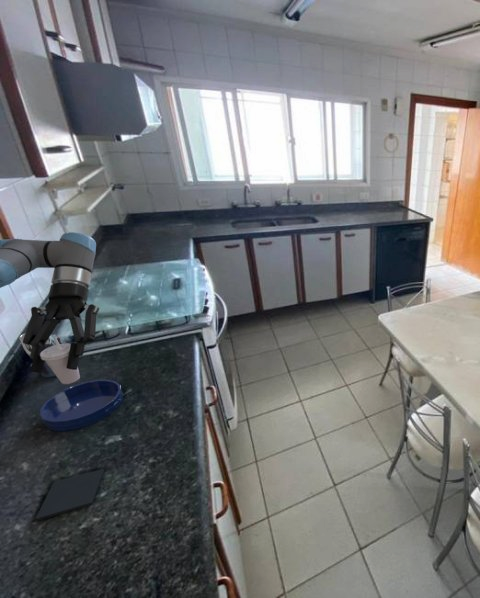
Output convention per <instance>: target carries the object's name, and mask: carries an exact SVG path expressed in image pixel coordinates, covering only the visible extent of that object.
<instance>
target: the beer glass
mask: <svg viewBox="0 0 480 598" xmlns="http://www.w3.org/2000/svg"><path fill="white" fill-rule="evenodd" d="M25 333H26V332H24V333H22V334H20V335H19V337H18V339H19V342H20V343H21V346H22V347H23V350H24V351H25V353H26V354H27V355H28V357H30V355H31V349H32V346H31V345H27V344H24V343H23V339H24V336H25ZM52 335H53V333H52V334H51V335H50V337H49V339H48V340H47V342H46V343H45V345H44V346H46V347H47V348H49V347H51V346H54V345H56V343H55V341H54V339H53V336H52ZM31 361H33V359H31ZM40 374H41V377H42V378H44V379H52V378H55V377H57V376H56V375H55V374H54V372H53V371H52V370H51V368H50V367H49V366H48V364H47V363H46V362H44V367H43V372H42V373H40Z"/></svg>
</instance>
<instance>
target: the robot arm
mask: <svg viewBox="0 0 480 598" xmlns="http://www.w3.org/2000/svg"><path fill="white" fill-rule="evenodd" d="M96 251H97V242H96V240H95V239H94V238H93V237H92V236H90V235H87V234H84V233H80V232H74V231H73V232H70V231H69V232H65V233H63V234H62V235H61V236H60V238H59V240H42V239H41V240H39V239H22V238H8V239H4V238H3V239H0V289H2V288H4V287H6V286H9V285H11V284H12V283H14V282H15V281H16V280H18V279H20V278H21V277H23V276H25V275H27V274H29V273H31V272H33V271H34V270H36V269H40V268H41V269H53V272H52V277H51V285H50V287H49V292H48V301H47V303H46V304H45V305H44V306H40V307H37V306H32V307H31V308H30V312H31V313H30V314H31V316H30V319H29V322H28V325H27V327H26V331H25V332H24V333H25V336H24V339H23V343H24V344H27V345H31V346H32V349H31V355H30V356H29V358H30V360H32V359H33V360H32V362H31V367H30V373H38V374H41V373H42V372H43V367H44V362H45V360H42V359H41V356H40V353H41V352H42V351H43V350H45V349H46V348H47V347H46V346H44V345H45V343H46V342H47V340H48V339H49V337H50V335H51V334H52V335H53V332H54V331H55V329H56V328H57V326H58V325H59V324H61V322H62V321H65V320H68V321H69V323H70V326H71V327H70V328H71V330H72V334H73V338H74V340H73V342H71V343H70V344H71V346H70V351H69V357H68V362H67V369H72V370H77V367H78V368H79V361H80V357H83V356H84V353H85V347H86V344H87V343H91V342H92V343H93V342H94V341H95V340H96V332H97V331H96V330H97V314H98V313H99V311H100V307H99V306H97V305H96V304H91V303H90V304H88V303H87V301H88V299H89V293H90V289H89V288H90V285H91V279H92V273H93V267H94V263H95V259H96V255H97V253H96ZM84 311H85V313H84V314H85V315H84V326H83V323H82V321H83V319H82V316H81V314H82V313H83V312H84ZM47 312H48V313H47ZM45 316H46V317H45ZM44 320H45V321H44Z"/></svg>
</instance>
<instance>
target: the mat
mask: <svg viewBox="0 0 480 598" xmlns="http://www.w3.org/2000/svg"><path fill="white" fill-rule="evenodd" d="M104 473H105V469H104V468H101V469H98V470H93V471H89V472H86V473H82V474H78V475H74V476H71V477H67V478H63V479H59V480H56V481H53V482H52V485H51V486H50V487H49V488H50V489H49V490H48V493H47V495H46V497H44V500H43V502H42V505H41V507H40V508H39V510H38V512H37V514H36V516H35V521H36V522H39V521H42V520H46V519H48V518H53V517H56V516H60V515H62V514H66V513H69V512H73V511H76V510H79V509H82V508H86V507H89V506H92V505H93V504H94V501H95V498H96V495H97V493H98V490H99V487H100V484H101V482H102V479H103V477H104Z"/></svg>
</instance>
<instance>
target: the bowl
mask: <svg viewBox="0 0 480 598" xmlns="http://www.w3.org/2000/svg"><path fill="white" fill-rule="evenodd" d="M123 400H124V391H123V389H122V386H121V384H120V383H119V382H117V381H116V380H112V379H95V380H90V381H84V382H82V383H78V384H74V385H73V386H70V387H67V388H65V389H63V390H61V391H60V392H58V393H56V394H55V395H53V396H51V397H50V398H49V399H48V400H46V401H45V402H44V403H43V404H42V406H41V407H40V409H39V417H40V419H41V421H42V423H43V425H44V426H45V427H46V428H47V429H49V430H51V431H54V432H68V431H74V430H79V429H83V428H87V427H88V426H92V425H93V424H95V423H97V422H99V421H101V420H103V419H105V418H106V417H108V416H109V415H110V414H112V413H113V412H115V410H117V409H118V407H120V406H121V404H122V402H123Z"/></svg>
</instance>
